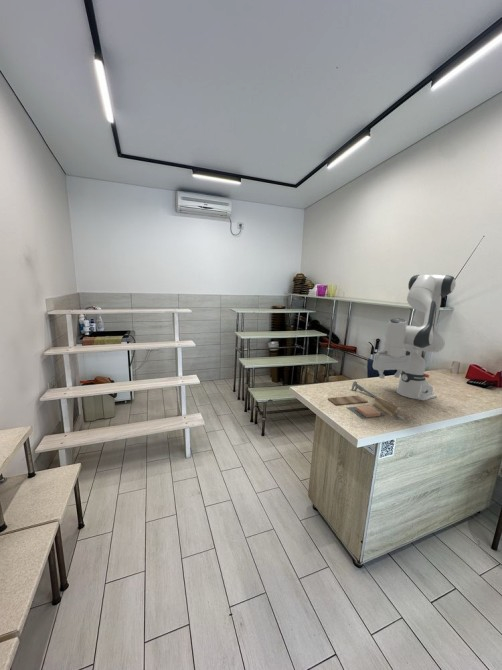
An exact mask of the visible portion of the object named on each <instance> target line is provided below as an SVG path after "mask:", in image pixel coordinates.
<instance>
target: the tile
mask: <svg viewBox="0 0 502 670" xmlns="http://www.w3.org/2000/svg"><path fill="white" fill-rule="evenodd" d="M359 406H360V407H357V406H355V407H356V410H357V411H358V412H359V413H361V414H362V415H364V416H365V417H374V418H376V417H375V416H380V414H381V413H382V412H380V411H378V410H377V409H376V408H374V407H373V406H370V405H369V406H367V405H359Z"/></svg>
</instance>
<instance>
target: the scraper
mask: <svg viewBox="0 0 502 670" xmlns="http://www.w3.org/2000/svg"><path fill="white" fill-rule="evenodd" d="M373 401H374V403H373V405H374V406H375V407H377V408H379V409H380V410H382V411H383V412H385V413H386V414H388V415H389V417H392V418H393V419H395V420H404V419H405V417H403V416H402V415H400V414H398V407H399V406H398V405H396V404H394V403H392V402H390V401H389V400H387V399H385V398H383V397H381V396H378V397H375V398H374V400H373Z"/></svg>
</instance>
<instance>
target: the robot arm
mask: <svg viewBox="0 0 502 670" xmlns="http://www.w3.org/2000/svg"><path fill="white" fill-rule="evenodd" d="M407 287H408V290H409V291H408V293H407V296H406V301H407V304H408V305H409V306H410V307H411V308H412V309H413V310H414V309H415V313H414V316H413V321H414V323H415V324H416V326H415V325H408V324H407V323H408V322H407V320H406V319H404V318H400V317H399V318H392V319H389V320H388V323H387V325H386V329H385V337H384V338H385V341H384V343H383V349H382V351H377V352H376V353H375V355H374V357H373V361H372V368H373V370H375V371H378V374H379V379H385V377H386V376H385V374H384V371H395V370H396V372H395V373H394V375H393V376H394V378H399V380H398V384H397V386H396V388H395V389H396V391H395V392H396V393H397V394H398V395H400V396H403V397H405V398H410V399H414V400H418V401H427V400H431V399H434V398H437V397H438V395H437V394H436V393H435V392H434V391H433V390H434V387H433V385H432V384H430V383H429V381H427V380H426V378H428V379H429V378H430V375H429V374H428V373H425V370H426V365H427V363H426V360H425V358H424V357H422V356H421V355H420V354H419V352H418V351H421V352H426V353H439V352H441V351H442V350H443V349H444V347H445V338H444V337H443V336H442V335H441V334H440V333H439V332H438V329H437V319H438V316H439V312H440V310H441V309H440V308H441V305H442V298H443V299H444V298H445V297H446V296H449V295H450V294H451V293H453V291H454V290H455V287H456V279H455V277H454V275H453V276H452V275H449V274H446V275H444V274H436V273H435V274H416V275H413V276H412V277H411V278H410V279H409V281H408V286H407Z"/></svg>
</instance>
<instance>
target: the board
mask: <svg viewBox="0 0 502 670" xmlns="http://www.w3.org/2000/svg"><path fill="white" fill-rule="evenodd" d="M327 400H328V401H329V402H330V403H332V404H333V405H335V407H338V406H347V405H359V404H368V403H369V401H368V400H367V399H365V398H363V397H361V396H360V395H348V396H337V397H335V396H334V397H328V398H327Z"/></svg>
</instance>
